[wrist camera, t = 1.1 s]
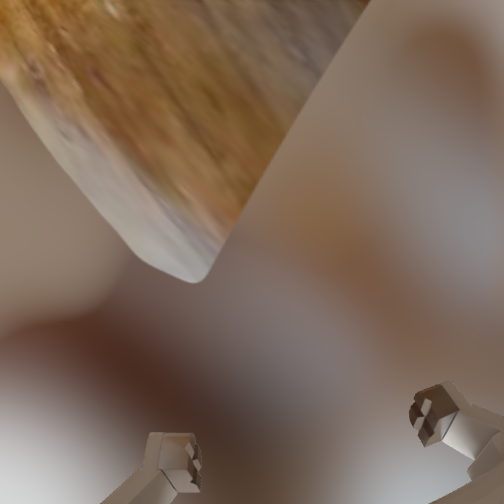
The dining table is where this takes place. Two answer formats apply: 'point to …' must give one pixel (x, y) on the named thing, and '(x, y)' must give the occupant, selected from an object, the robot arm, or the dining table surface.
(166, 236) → the dining table surface
